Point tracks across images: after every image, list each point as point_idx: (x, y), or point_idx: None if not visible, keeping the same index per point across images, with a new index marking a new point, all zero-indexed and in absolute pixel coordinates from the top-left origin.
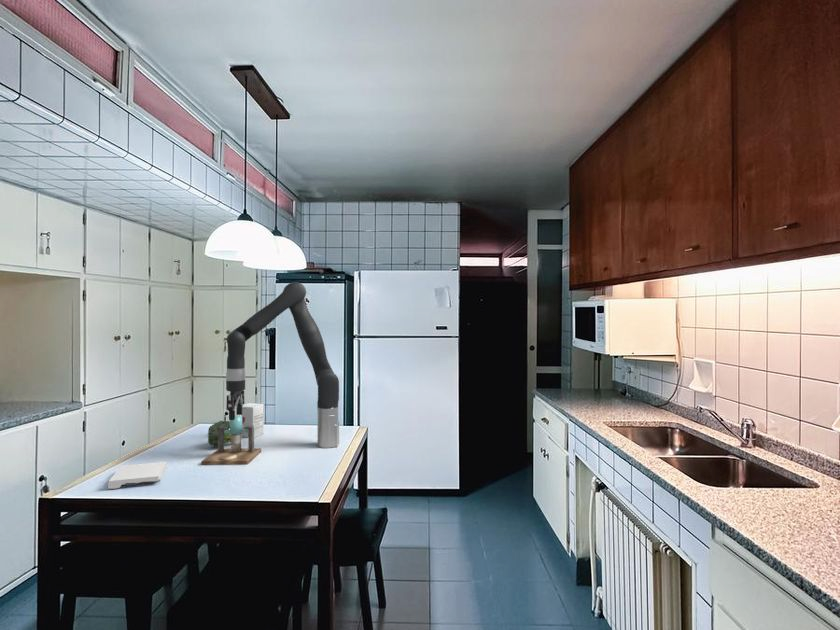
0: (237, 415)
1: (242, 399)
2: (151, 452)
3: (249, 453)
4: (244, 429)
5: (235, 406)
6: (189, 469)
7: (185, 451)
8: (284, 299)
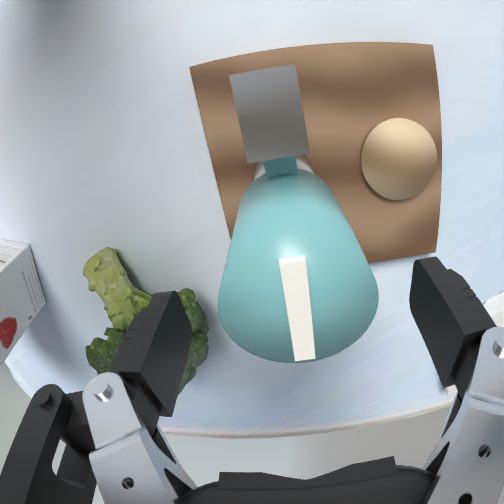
0: (308, 296)
1: (112, 494)
2: (276, 422)
3: (308, 79)
4: (23, 296)
5: (482, 391)
6: (466, 256)
7: (253, 372)
8: None
